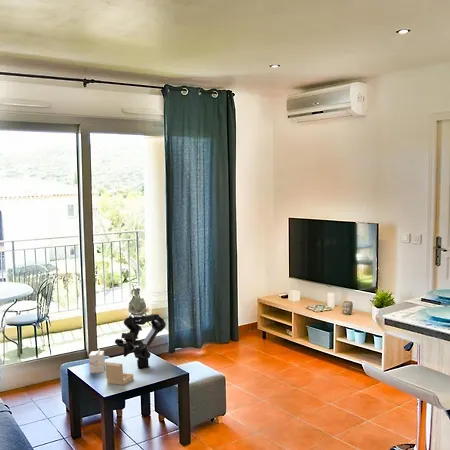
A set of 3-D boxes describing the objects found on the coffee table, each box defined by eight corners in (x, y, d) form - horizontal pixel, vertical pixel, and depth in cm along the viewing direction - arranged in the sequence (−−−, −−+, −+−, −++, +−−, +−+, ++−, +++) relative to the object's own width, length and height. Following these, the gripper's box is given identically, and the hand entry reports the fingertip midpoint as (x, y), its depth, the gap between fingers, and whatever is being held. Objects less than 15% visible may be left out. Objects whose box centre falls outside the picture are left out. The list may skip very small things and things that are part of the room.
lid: (105, 361, 298) (104, 362, 297) (122, 363, 293) (121, 364, 292) (106, 378, 299) (105, 378, 298) (123, 380, 294) (122, 380, 293)
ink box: (92, 368, 325) (90, 348, 324) (105, 367, 326) (104, 347, 325) (89, 373, 317) (88, 352, 316) (103, 372, 317) (101, 351, 316)
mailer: (117, 377, 308) (116, 372, 308) (133, 379, 303) (133, 374, 303) (107, 383, 299) (106, 378, 299) (123, 385, 294) (123, 380, 294)
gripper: (115, 326, 313) (105, 348, 303) (140, 328, 305) (131, 351, 296) (123, 334, 320) (114, 357, 311) (148, 337, 313) (139, 360, 303)
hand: (124, 356), depth 305 cm, fingers closed
